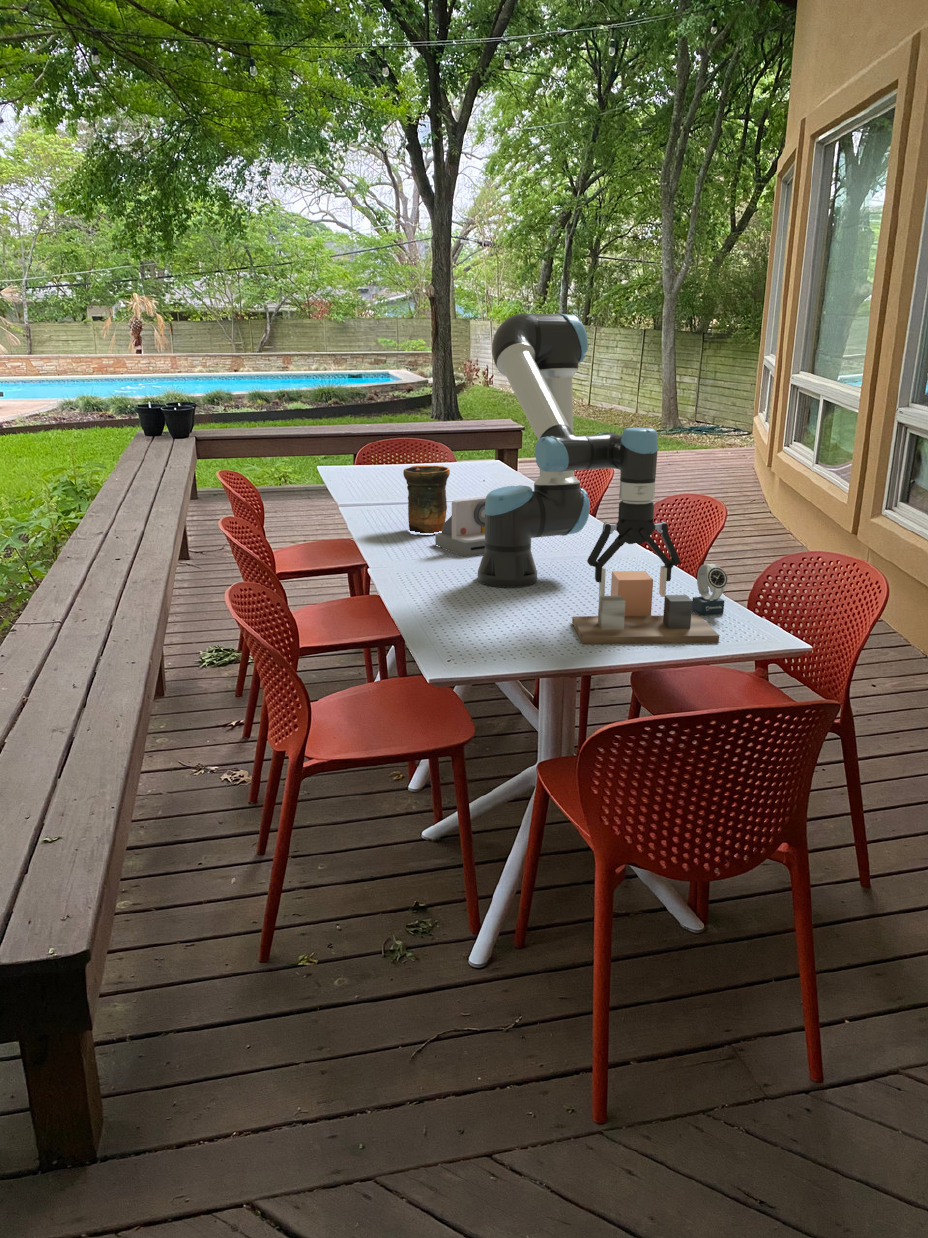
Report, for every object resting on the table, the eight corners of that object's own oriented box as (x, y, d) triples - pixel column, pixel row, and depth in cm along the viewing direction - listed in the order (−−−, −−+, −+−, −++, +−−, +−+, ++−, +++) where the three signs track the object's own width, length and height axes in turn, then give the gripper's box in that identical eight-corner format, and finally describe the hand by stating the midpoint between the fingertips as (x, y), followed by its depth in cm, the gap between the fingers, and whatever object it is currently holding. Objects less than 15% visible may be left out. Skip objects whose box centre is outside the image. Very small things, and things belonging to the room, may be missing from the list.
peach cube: (609, 609, 211) (611, 571, 208) (642, 609, 211) (645, 570, 209) (616, 619, 204) (618, 580, 201) (650, 619, 204) (653, 579, 201)
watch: (706, 618, 205) (710, 570, 202) (687, 608, 212) (691, 561, 209) (728, 616, 206) (732, 568, 203) (709, 606, 214) (713, 559, 210)
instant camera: (456, 558, 258) (456, 505, 253) (429, 543, 276) (429, 493, 271) (524, 551, 266) (525, 499, 261) (493, 537, 284) (494, 488, 279)
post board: (572, 623, 201) (573, 589, 199) (699, 621, 203) (701, 588, 200) (582, 644, 188) (584, 608, 186) (718, 642, 189) (721, 607, 187)
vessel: (460, 532, 289) (458, 468, 283) (421, 539, 281) (419, 473, 275) (435, 524, 300) (433, 463, 294) (397, 531, 293) (394, 467, 286)
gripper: (582, 504, 196) (579, 601, 202) (698, 503, 197) (692, 599, 203) (576, 498, 203) (573, 592, 209) (688, 497, 204) (682, 590, 210)
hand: (631, 595), depth 206 cm, fingers open, 13 cm apart
